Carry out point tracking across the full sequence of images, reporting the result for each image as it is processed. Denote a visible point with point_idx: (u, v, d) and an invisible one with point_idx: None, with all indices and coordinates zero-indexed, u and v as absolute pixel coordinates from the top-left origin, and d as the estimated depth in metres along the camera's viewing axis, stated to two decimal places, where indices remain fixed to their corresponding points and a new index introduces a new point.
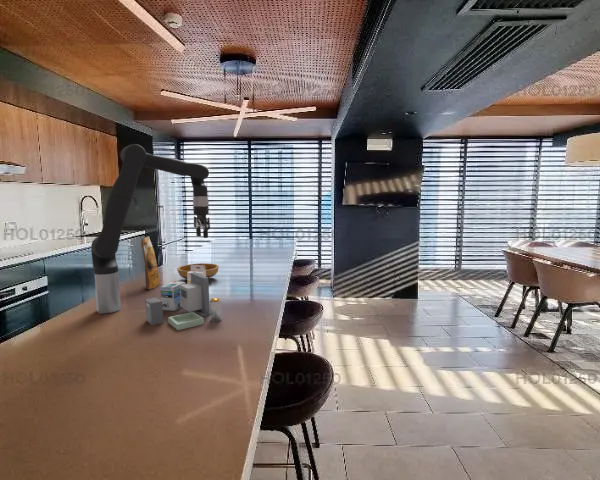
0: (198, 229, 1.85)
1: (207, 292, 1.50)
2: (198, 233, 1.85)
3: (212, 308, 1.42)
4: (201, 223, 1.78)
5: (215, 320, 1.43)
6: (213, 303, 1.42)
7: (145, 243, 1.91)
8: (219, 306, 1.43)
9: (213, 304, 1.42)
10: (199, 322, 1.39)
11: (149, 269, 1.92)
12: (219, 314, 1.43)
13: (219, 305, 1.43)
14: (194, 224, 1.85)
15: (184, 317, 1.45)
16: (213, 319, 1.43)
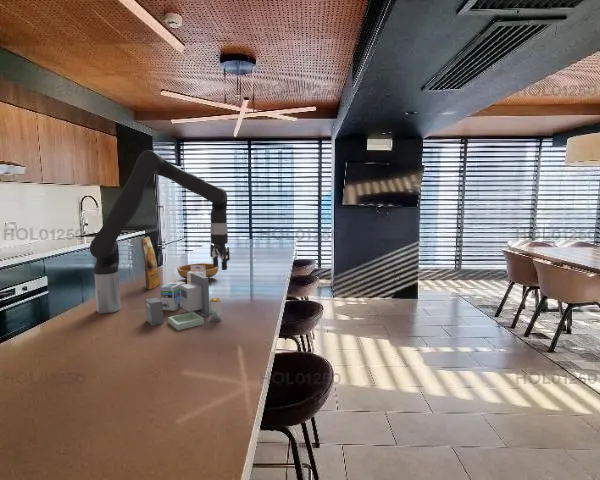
0: (215, 259, 1.63)
1: (207, 292, 1.50)
2: (215, 263, 1.63)
3: (212, 308, 1.42)
4: (219, 253, 1.56)
5: (215, 320, 1.43)
6: (213, 303, 1.42)
7: (145, 243, 1.91)
8: (219, 306, 1.43)
9: (213, 304, 1.42)
10: (199, 322, 1.39)
11: (149, 269, 1.92)
12: (219, 314, 1.43)
13: (219, 305, 1.43)
14: (211, 253, 1.64)
15: (184, 317, 1.45)
16: (213, 319, 1.43)
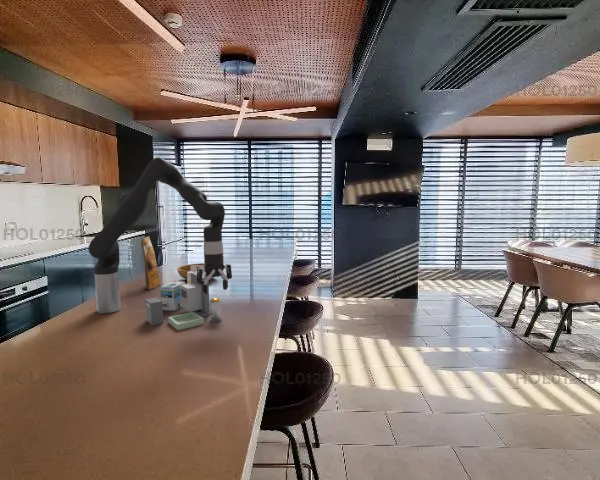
0: (223, 280, 1.46)
1: None
2: (223, 285, 1.46)
3: (212, 308, 1.42)
4: (205, 274, 1.42)
5: (215, 320, 1.43)
6: (213, 303, 1.42)
7: (145, 243, 1.91)
8: (219, 306, 1.43)
9: (213, 304, 1.42)
10: (199, 322, 1.39)
11: (149, 269, 1.92)
12: (219, 314, 1.43)
13: (219, 305, 1.43)
14: None
15: (184, 317, 1.45)
16: (213, 319, 1.43)
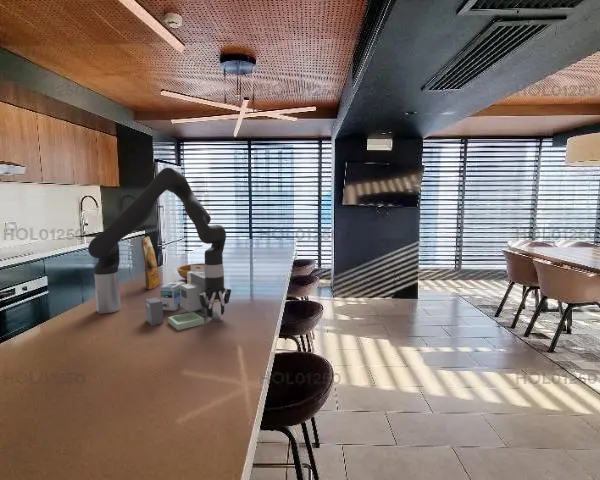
0: None
1: None
2: None
3: (212, 308, 1.42)
4: (207, 298, 1.43)
5: (215, 320, 1.43)
6: (213, 303, 1.42)
7: (145, 243, 1.91)
8: (220, 306, 1.43)
9: (213, 304, 1.42)
10: (199, 322, 1.39)
11: (149, 269, 1.92)
12: (219, 314, 1.43)
13: (219, 305, 1.43)
14: None
15: (184, 317, 1.45)
16: (213, 319, 1.43)
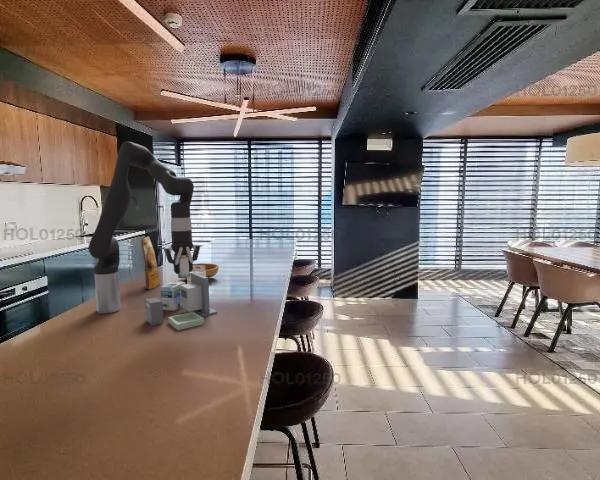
0: None
1: (207, 292, 1.50)
2: None
3: (179, 264, 1.36)
4: None
5: (182, 277, 1.36)
6: (180, 259, 1.35)
7: (145, 243, 1.91)
8: (187, 262, 1.37)
9: (180, 260, 1.36)
10: (199, 322, 1.39)
11: (149, 269, 1.92)
12: (187, 271, 1.37)
13: (187, 261, 1.37)
14: None
15: (184, 317, 1.45)
16: (180, 276, 1.36)
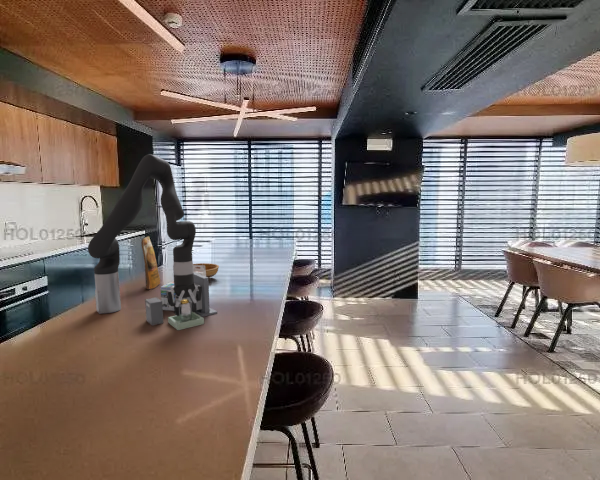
0: (192, 303, 1.42)
1: (207, 292, 1.50)
2: (192, 308, 1.42)
3: (181, 310, 1.38)
4: (176, 295, 1.39)
5: None
6: (182, 305, 1.38)
7: (145, 243, 1.91)
8: (189, 308, 1.39)
9: (182, 306, 1.38)
10: (199, 322, 1.39)
11: (149, 269, 1.92)
12: (189, 316, 1.39)
13: (188, 307, 1.39)
14: None
15: None
16: (182, 321, 1.39)
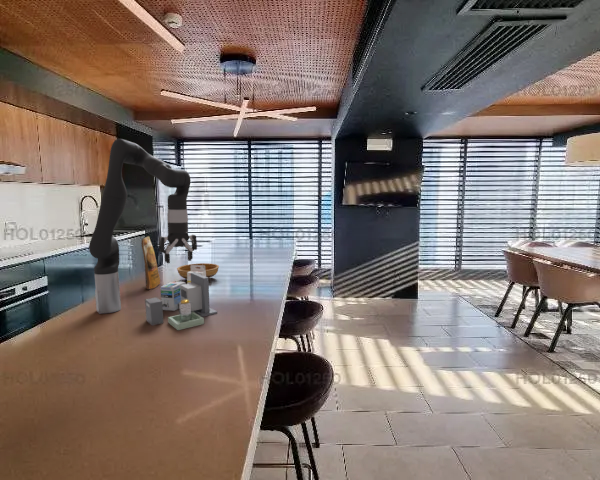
0: (188, 251, 1.42)
1: (207, 292, 1.50)
2: (188, 256, 1.43)
3: (181, 310, 1.38)
4: None
5: None
6: (182, 305, 1.38)
7: (145, 243, 1.91)
8: (189, 308, 1.39)
9: (182, 306, 1.38)
10: (199, 322, 1.39)
11: (149, 269, 1.92)
12: (189, 316, 1.39)
13: (189, 307, 1.39)
14: None
15: None
16: (182, 321, 1.39)
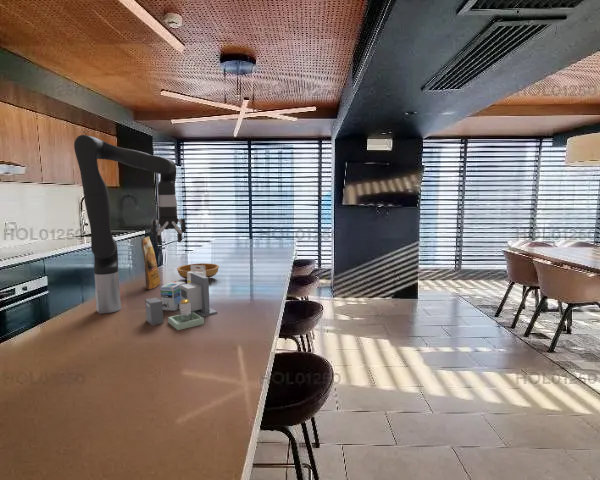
0: (178, 234, 1.56)
1: (207, 292, 1.50)
2: (178, 238, 1.56)
3: (181, 310, 1.38)
4: None
5: None
6: (182, 305, 1.38)
7: (145, 243, 1.91)
8: (189, 308, 1.39)
9: (182, 306, 1.38)
10: (199, 322, 1.39)
11: (149, 269, 1.92)
12: (189, 316, 1.39)
13: (189, 307, 1.39)
14: None
15: None
16: (182, 321, 1.39)
